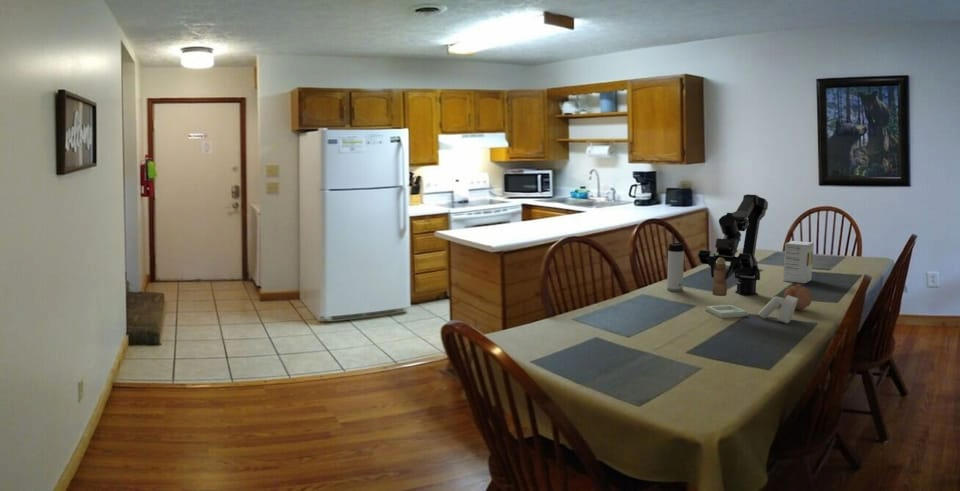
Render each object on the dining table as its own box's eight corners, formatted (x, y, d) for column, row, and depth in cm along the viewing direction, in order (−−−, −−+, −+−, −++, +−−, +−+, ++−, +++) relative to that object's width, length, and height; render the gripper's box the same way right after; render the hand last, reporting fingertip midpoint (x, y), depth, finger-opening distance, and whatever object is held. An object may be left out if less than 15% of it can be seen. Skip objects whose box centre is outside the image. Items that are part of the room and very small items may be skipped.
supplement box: (804, 283, 294) (807, 245, 291) (782, 281, 300) (784, 243, 297) (811, 280, 301) (814, 242, 298) (789, 277, 307) (792, 240, 304)
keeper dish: (730, 309, 255) (730, 304, 254) (746, 316, 245) (746, 311, 245) (706, 311, 252) (706, 306, 252) (721, 318, 243) (721, 313, 242)
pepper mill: (719, 292, 253) (720, 256, 251) (729, 295, 249) (731, 257, 247) (709, 294, 251) (711, 257, 249) (719, 296, 247) (721, 259, 245)
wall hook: (760, 313, 246) (768, 287, 243) (789, 323, 241) (798, 297, 238) (754, 318, 240) (763, 292, 237) (785, 329, 235) (794, 302, 232)
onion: (787, 305, 258) (788, 279, 256) (814, 309, 252) (815, 282, 251) (779, 311, 251) (781, 284, 249) (807, 315, 245) (808, 287, 243)
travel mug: (684, 291, 283) (685, 244, 279) (667, 291, 284) (669, 243, 281) (682, 288, 289) (684, 241, 285) (666, 288, 290) (668, 241, 287)
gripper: (700, 228, 255) (688, 261, 248) (752, 231, 244) (741, 267, 237) (706, 246, 263) (695, 279, 256) (757, 250, 252) (747, 285, 245)
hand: (719, 277), depth 248 cm, fingers closed on pepper mill, 5 cm apart
